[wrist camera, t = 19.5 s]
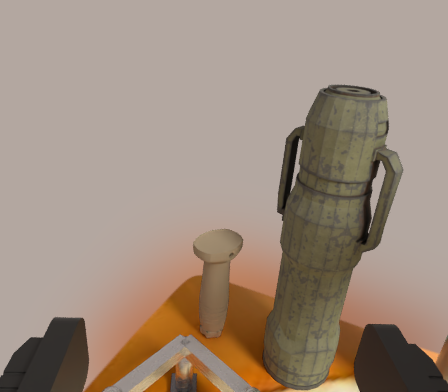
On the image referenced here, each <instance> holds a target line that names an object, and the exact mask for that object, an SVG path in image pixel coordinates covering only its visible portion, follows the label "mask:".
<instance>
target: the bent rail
mask: <svg viewBox="0 0 448 392" xmlns="http://www.w3.org/2000/svg"><path fill="white" fill-rule="evenodd" d="M175 365H176V373H172V379H171V390H170V392H196V383H197V374H193V366H195V367H196V368H197V369H198V370H199V371H200V372H201V373H202V374H203V375H204V376H205V377H206V378H207V379H208V380H210V381H211V382H212V383H213V384H214V385H215V386H216V387H217V388H218V389H219V390H220V391H221V392H260V391H259V390H258V389H257V388H255V387H251V386H250V385H249V384H248V383H247V382H246V381H244V380H243V379H242V378H241V377H240V376H239V375H237V374H236V373H235V372H234V371H233V370H232V369H230V368H229V367H228V366H227V365H226V364H225V363H224V362H222V361H221V360H220V359H219V358H218V357H217V356H215V355H214V354H213V353H212V352H211V351H210V350H208V349H207V348H206V347H205V346H204V345H203V344H201V343H200V342H199V341H198V340H197V339H196V338H194V337H193V336H192V335H189V336H188V337H183V336H182V335H181V334H180V335H179V336H177V337H176V338H175V339H174V340H172V341H171V342H170V343H168V344H167V345H166V346H164V347H163V348H162V349H160V350H159V351H158V352H156V353H155V354H154V355H152V356H151V357H150V358H148V359H147V360H146V361H144V362H143V363H142V364H140V365H139V366H138V367H136V368H135V369H134V370H132V371H131V372H130V373H129V374H127V375H126V376H125V377H123V378H122V379H121V380H119V381H118V382H117V383H115V384H114V385H113V386H109V387H107V388H105V389H104V390H103V391H102V392H143V391H144V390H146V389H147V388H148V387H149V386H150V385H152V384H153V383H154V382H155V381H156V380H158V379H159V378H160V377H161V376H163V375H164V374H165V373H166V372H167V371H169V370H170V369H171V368H172V367H173V366H175Z"/></svg>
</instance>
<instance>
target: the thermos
mask: <svg viewBox="0 0 448 392" xmlns="http://www.w3.org/2000/svg"><path fill="white" fill-rule="evenodd" d="M388 130H389V123H388V109H387V99H386V97H384V96H382V95H380V92H379V91H376V90H373V89H370V88H365V87H358V86H350V85H329V86H328V88H323V89H321V90H320V91H319V93H318V95H317V97H316V99H315V101H314V103H313V105H312V107H311V109H310V111H309V113H308V115H307V117H306V123H305V126H301V127H298V128H295V129H294V130H293V132H292V133H291V134H290V135H289V136H288V137H287V138H286V145H285V152H284V158H283V165H282V172H281V179H280V185H279V192H278V207H277V212H278V213H280V214H282V215H283V216H282V221H283V227H282V233H281V240H280V243H281V247H282V250H283V253H282V259H281V265H280V272H279V278H278V283H277V290H276V296H275V302H274V308H273V310H272V311H271V313H270V314H269V316H268V317H267V323H266V329H265V336H264V351H263V363H264V366H265V367H266V369H267V371H268V373H269V374H270V375H271V376H272V377H273V378H274V379H275V380H276V381H277V382H279V383H281V384H282V385H284V386H286V387H289V388H292V389H295V390H310V389H313V388H317V387H318V386H320V385H321V384H322V383H324V381H325V380H326V378H327V376H328V374H329V368H330V366H331V364H332V362H333V361H334V357H335V353H336V350H337V346H338V341H339V334H340V326H339V320H340V316H341V312H342V308H343V305H344V301H345V297H346V293H347V290H348V286H349V282H350V278H351V274H352V271H353V268H354V267H355V266H356V265H357V264H358V262H359V261H360V259H361V255H362V253H363V252H366V251H370V250H373V249H375V248H376V247H377V246H378V245H379V243H380V241H381V237H382V234H383V230H384V226H385V223H386V220H387V217H388V214H389V211H390V208H391V205H392V202H393V199H394V196H395V193H396V190H397V187H398V184H399V181H400V179H401V175H402V173H403V167H402V164H401V162H400V159H399V156H398V154H397V153H396V152H394V151H392V150H389V149H387V148H386V145H385V141H386V137H387V133H388ZM299 138H300V140H303V141H302V147H301V154H300V159H299V165H300V171H299V173H298V174H297V177H296V182H295V186H294V188H293V189H292V191H291V193H290V190H291V185H292V179H293V173H294V167H295V160H296V154H297V148H298V142H299ZM380 160H381V161H382V162H383V165H384V168H385V170H386V174H385V177H384V181H383V185H382V188H381V192H380V195H379V199H378V203H377V206H376V210H375V213H374V217H373V221H372V224H371V228H370V231H369V233H368V230H369V226H370V223H371V219H372V217H371V207H370V198H371V194H372V181H373V179H374V178H375V177H376V175H377V171H378V167H379V164H380Z"/></svg>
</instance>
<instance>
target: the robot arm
mask: <svg viewBox="0 0 448 392" xmlns="http://www.w3.org/2000/svg"><path fill="white" fill-rule="evenodd" d="M88 364H89V355H88V346H87V338H86V329H85V321H84V319H83V318H60V317H59V318H58V317H55V318H54V319H53V320H52V321H51V323H50V325H49V327H48V329H47V331H46V333H45V335H44V337H43V338H36V337H34V338H33V337H31V338H30V339H29V340H27V341H26V342H25V343H24V344H23V345H22V346H21V347H20V348H19V349H18V350H17V351H16V352H14V354H13V355H12V357H11V359H10V361H9V363H8V365H7V367H6V368H5V370H4V373H3V375H2V376H1V377H0V392H82V391H83V388H84V385H85V382H86V378H87V373H88ZM354 374H355V379H356V383H357V386H358V388H359V391H360V392H448V336H447V338H446V340H445V342H444V345H443V347H442V350H441V352H440V354H439V356H438V358H437V361H436V363H434V362H433V360H432V359H431V358H430V357H429V356H428V355H427V354H426V353H425V352H423V351H422V350H421V349H420V348H419V347H418V346H417V345H416V344H408V343H407V341H406V339H405V338H404V337H403V335H402V333H401V331H400V330H399V328H398V327H397V326H396V325H392V324H390V325H389V324H368V325H366V327H365V329H364V332H363V335H362V338H361V342H360V345H359V348H358V351H357V355H356V358H355V362H354Z"/></svg>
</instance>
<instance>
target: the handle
mask: <svg viewBox="0 0 448 392" xmlns="http://www.w3.org/2000/svg"><path fill="white" fill-rule="evenodd" d="M242 245H243V239H242V237H241V236H240V235H239V234H238V233H236V232H234V231H232V230H228V229H220V230H212V231H209V232H207V233H204V234H202V235H200V236H199V237H198V238H197V239H196V240H195V241H194V243H193V249H194V254H195V255H196V256H197V257H198V258H200V259H201V260H203V261H204V267H203V275H202V283H201V290H200V298H199V318H200V323H201V325H200V331H201V333H202V334H204V335H205V336H206V338H211V337H216V338H217V337H219V336H220V335H221V332H222V330H223V327H224V323H225V320H226V315H227V310H228V302H229V270H230V261H231V260H232V259H233V258H235V256H237V254H238V253H239V252H240V250H241V248H242Z"/></svg>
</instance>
